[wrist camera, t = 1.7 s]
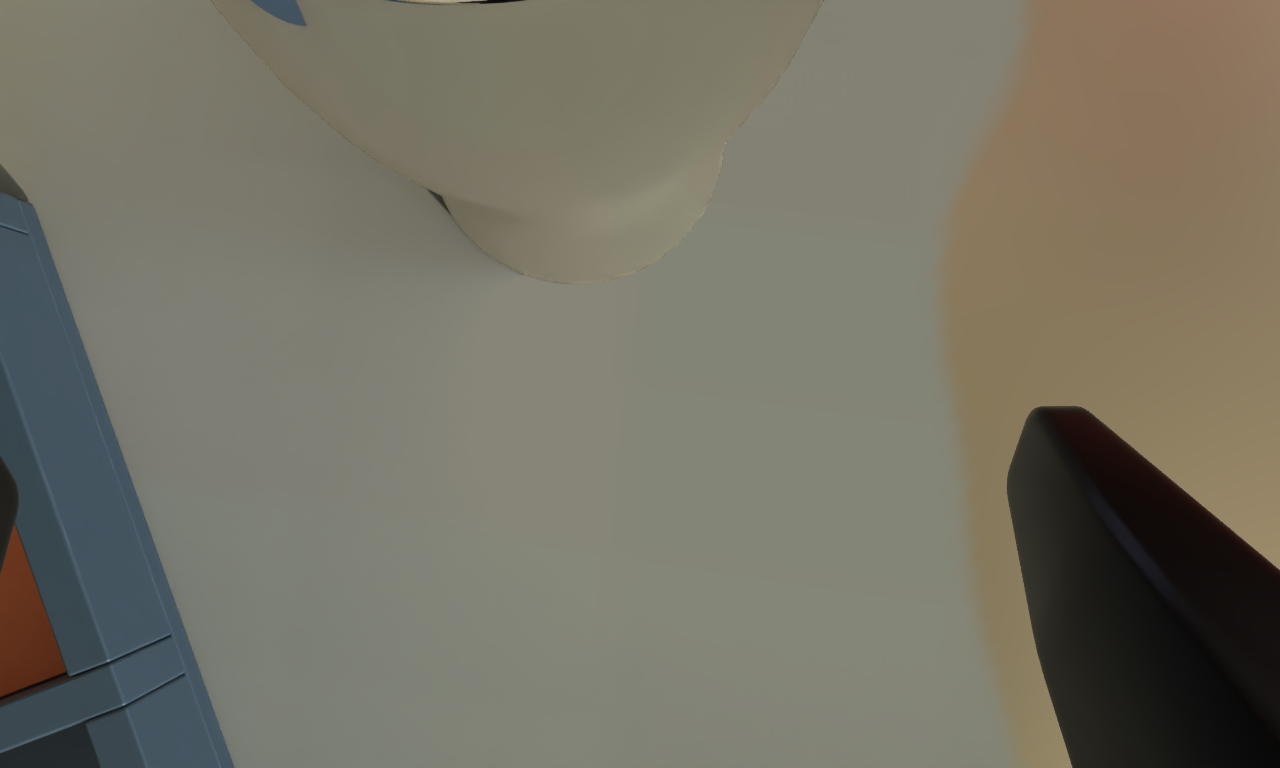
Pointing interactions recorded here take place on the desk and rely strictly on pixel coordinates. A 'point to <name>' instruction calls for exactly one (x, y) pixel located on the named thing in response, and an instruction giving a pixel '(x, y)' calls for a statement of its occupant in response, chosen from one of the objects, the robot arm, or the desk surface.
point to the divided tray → (80, 556)
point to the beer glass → (539, 109)
